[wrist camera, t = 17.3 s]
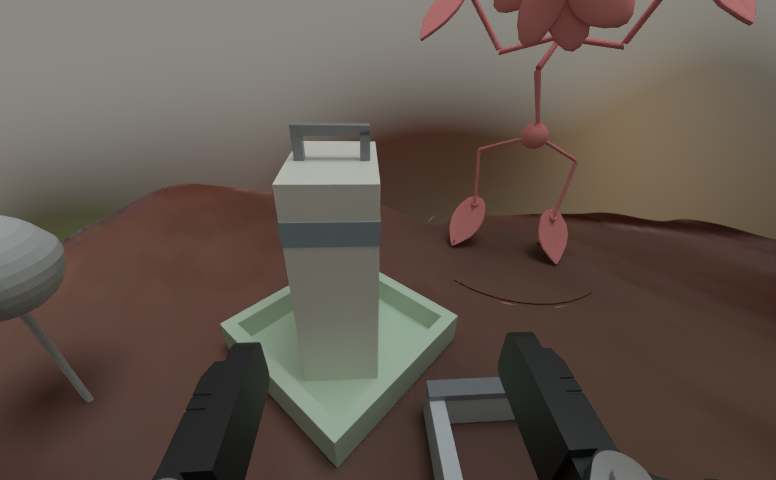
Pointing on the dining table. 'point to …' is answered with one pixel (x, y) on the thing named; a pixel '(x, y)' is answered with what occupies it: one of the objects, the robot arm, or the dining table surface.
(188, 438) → the robot arm
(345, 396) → the tray
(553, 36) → the figurine
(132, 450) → the dining table surface
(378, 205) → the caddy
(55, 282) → the lollipop
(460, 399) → the bay
